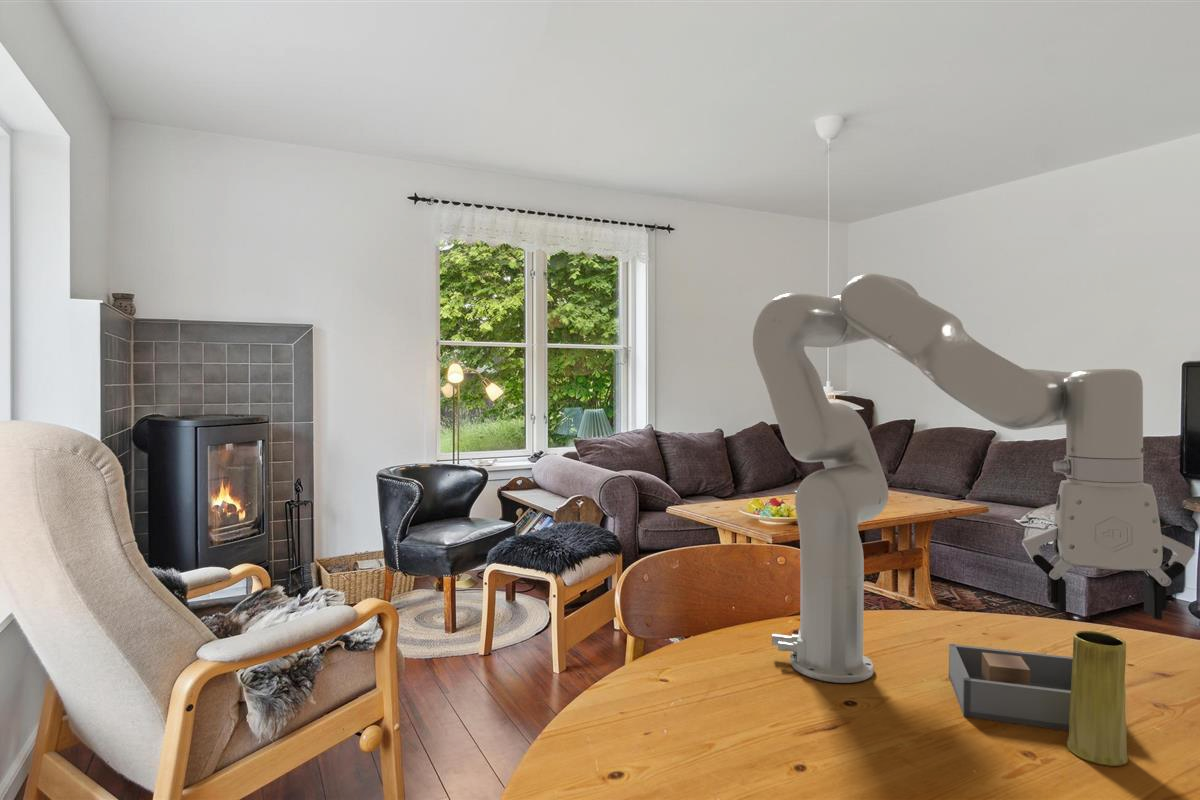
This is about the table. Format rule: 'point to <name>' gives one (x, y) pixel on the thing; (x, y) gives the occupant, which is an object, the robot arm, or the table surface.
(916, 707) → the table surface
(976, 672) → the tote
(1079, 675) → the vase
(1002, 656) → the walnut cube
